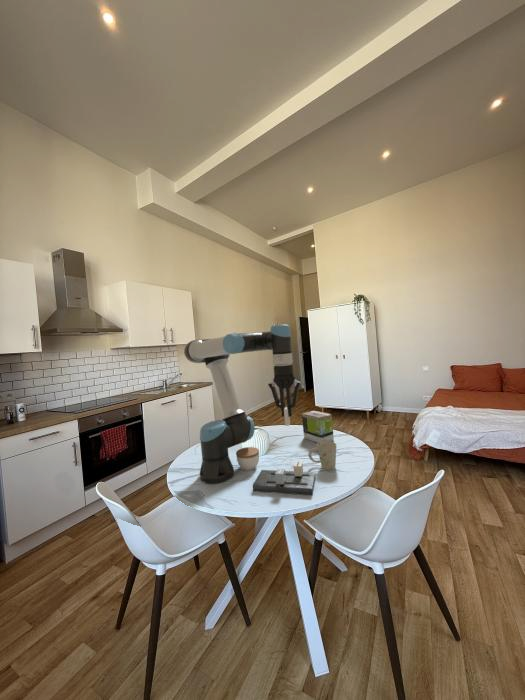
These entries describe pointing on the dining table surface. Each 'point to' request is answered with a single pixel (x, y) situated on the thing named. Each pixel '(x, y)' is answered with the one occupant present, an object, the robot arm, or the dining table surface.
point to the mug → (325, 454)
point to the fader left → (298, 469)
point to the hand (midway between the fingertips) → (287, 424)
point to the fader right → (280, 476)
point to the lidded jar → (248, 458)
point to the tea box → (317, 426)
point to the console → (291, 485)
